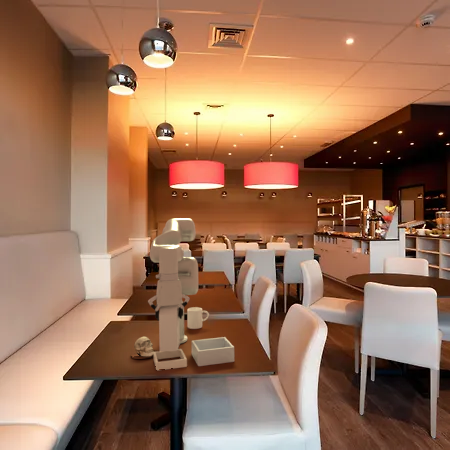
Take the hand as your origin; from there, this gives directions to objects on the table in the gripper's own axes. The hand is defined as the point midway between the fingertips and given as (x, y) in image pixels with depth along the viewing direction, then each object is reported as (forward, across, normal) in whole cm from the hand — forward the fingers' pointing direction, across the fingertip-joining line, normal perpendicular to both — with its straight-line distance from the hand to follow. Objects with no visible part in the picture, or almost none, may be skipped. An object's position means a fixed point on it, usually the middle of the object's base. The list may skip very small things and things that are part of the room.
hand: (169, 318), depth 144 cm
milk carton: (+13, 0, 0) cm, 13 cm away
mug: (+19, +22, +44) cm, 52 cm away
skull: (+19, -10, +11) cm, 24 cm away
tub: (+18, +18, -1) cm, 25 cm away
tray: (+18, 0, -1) cm, 18 cm away
